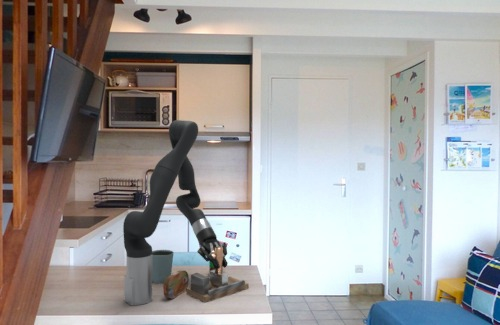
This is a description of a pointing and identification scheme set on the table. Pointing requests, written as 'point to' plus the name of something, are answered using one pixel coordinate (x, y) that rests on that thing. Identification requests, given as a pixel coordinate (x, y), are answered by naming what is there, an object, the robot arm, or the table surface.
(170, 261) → the teal cup
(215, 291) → the railed wooden base
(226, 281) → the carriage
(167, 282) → the tin
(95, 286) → the table surface
